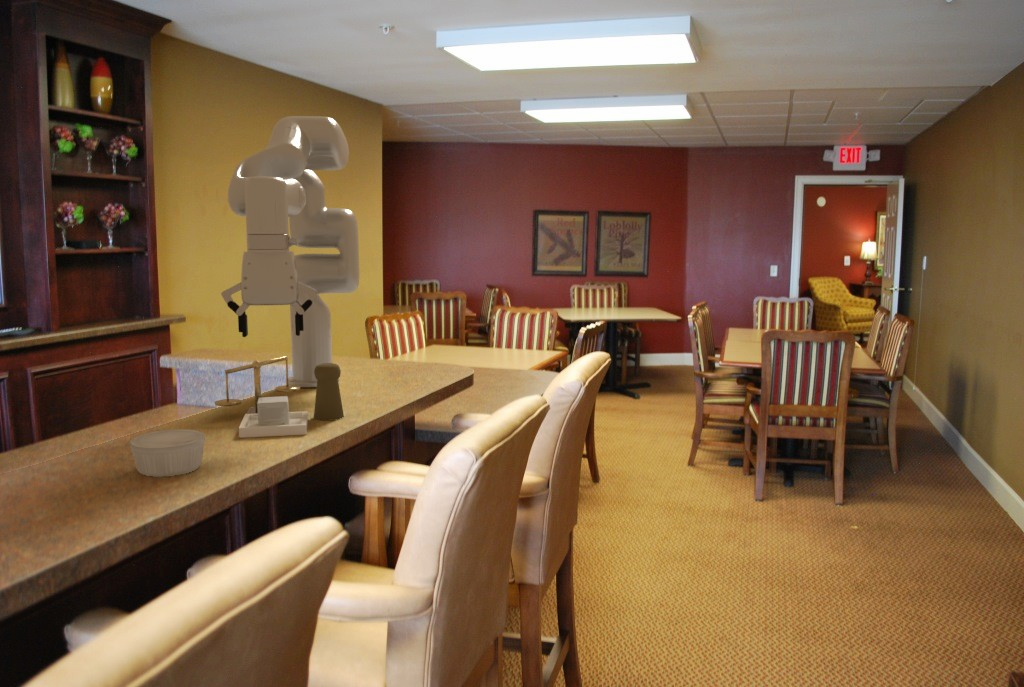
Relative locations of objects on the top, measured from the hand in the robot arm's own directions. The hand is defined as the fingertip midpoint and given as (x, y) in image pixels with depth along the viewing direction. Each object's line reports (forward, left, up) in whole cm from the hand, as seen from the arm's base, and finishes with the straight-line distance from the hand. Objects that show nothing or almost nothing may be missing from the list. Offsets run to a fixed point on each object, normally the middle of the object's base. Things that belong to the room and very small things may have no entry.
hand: (271, 335), depth 160 cm
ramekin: (+25, -15, -18) cm, 34 cm away
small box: (0, 0, -17) cm, 17 cm away
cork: (-8, +10, -18) cm, 22 cm away
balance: (-12, -4, -18) cm, 22 cm away
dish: (0, 0, -18) cm, 18 cm away
